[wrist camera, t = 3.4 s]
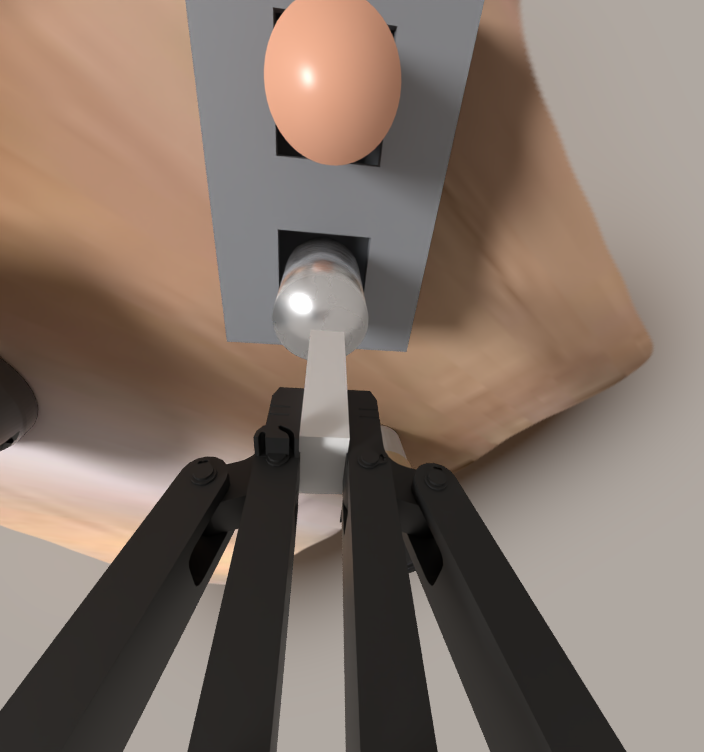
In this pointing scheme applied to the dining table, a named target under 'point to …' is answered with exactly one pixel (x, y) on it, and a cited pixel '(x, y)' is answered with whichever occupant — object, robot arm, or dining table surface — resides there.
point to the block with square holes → (326, 182)
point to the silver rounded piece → (320, 296)
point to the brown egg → (332, 79)
